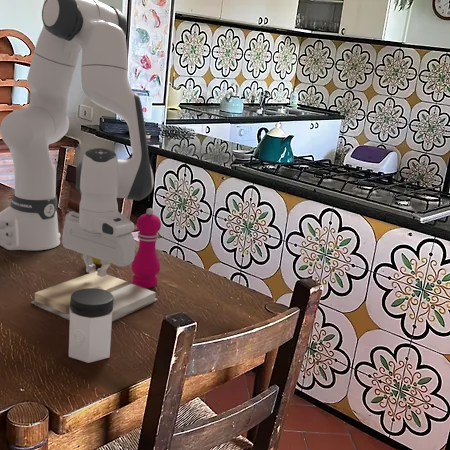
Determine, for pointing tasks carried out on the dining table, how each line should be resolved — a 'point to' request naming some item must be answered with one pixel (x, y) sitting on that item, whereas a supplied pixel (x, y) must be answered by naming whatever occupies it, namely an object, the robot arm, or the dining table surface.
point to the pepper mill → (146, 251)
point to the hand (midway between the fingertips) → (96, 273)
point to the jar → (90, 324)
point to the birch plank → (61, 293)
